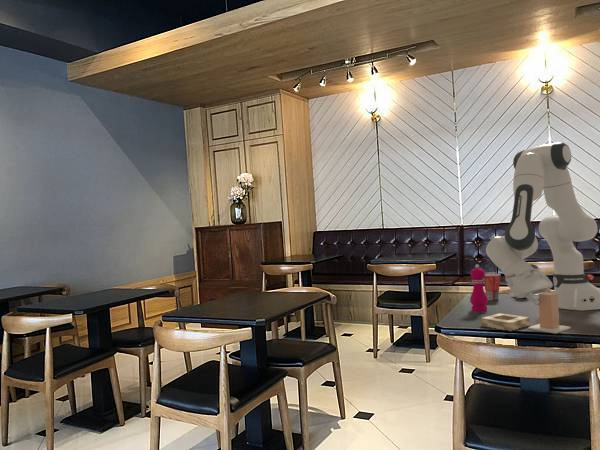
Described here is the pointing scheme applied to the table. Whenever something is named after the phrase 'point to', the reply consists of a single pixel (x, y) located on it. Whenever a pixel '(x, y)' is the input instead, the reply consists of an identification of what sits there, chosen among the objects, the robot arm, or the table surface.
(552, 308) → the terracotta block
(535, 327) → the felt pad
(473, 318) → the table surface
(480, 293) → the pepper mill
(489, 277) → the cup
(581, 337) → the table surface
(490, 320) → the pocket board
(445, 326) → the table surface
